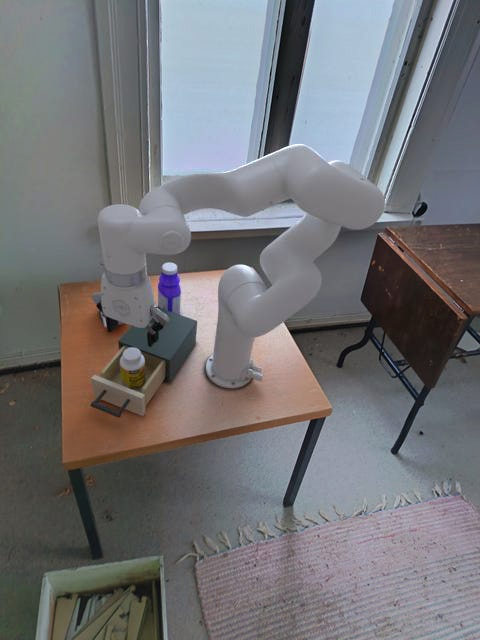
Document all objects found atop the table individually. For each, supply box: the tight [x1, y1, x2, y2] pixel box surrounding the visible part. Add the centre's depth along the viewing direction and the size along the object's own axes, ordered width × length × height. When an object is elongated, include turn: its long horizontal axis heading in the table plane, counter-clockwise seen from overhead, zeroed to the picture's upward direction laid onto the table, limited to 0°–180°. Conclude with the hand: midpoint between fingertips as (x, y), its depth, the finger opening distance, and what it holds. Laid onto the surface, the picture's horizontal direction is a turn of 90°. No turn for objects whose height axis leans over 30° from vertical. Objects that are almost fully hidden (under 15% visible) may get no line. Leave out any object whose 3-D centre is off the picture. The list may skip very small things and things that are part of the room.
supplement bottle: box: [120, 347, 145, 390], centre depth 95 cm, size 6×6×10 cm
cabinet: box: [117, 306, 198, 384], centre depth 106 cm, size 16×14×9 cm
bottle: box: [157, 262, 182, 315], centre depth 114 cm, size 7×6×17 cm
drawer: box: [90, 345, 167, 419], centre depth 95 cm, size 19×13×7 cm, turn 160°
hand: (132, 335), depth 88 cm, fingers open, 9 cm apart
